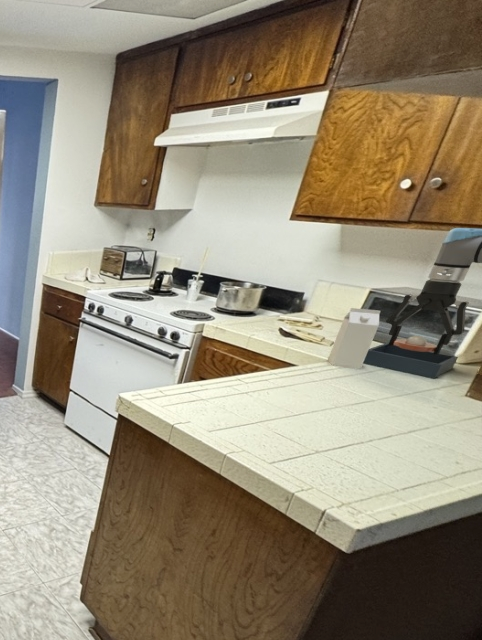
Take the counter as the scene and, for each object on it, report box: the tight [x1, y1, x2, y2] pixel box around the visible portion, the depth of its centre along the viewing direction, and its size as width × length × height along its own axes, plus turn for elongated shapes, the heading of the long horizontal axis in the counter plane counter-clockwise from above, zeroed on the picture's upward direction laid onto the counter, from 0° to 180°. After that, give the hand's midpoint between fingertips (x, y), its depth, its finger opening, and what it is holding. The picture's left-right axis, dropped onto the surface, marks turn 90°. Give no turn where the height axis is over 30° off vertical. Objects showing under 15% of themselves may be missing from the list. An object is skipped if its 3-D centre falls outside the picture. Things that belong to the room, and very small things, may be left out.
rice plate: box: [393, 335, 437, 352], centre depth 152 cm, size 10×10×5 cm
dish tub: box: [362, 342, 459, 380], centre depth 155 cm, size 18×18×5 cm
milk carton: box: [327, 307, 381, 370], centre depth 153 cm, size 7×7×19 cm
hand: (412, 349), depth 153 cm, fingers closed on rice plate, 10 cm apart
